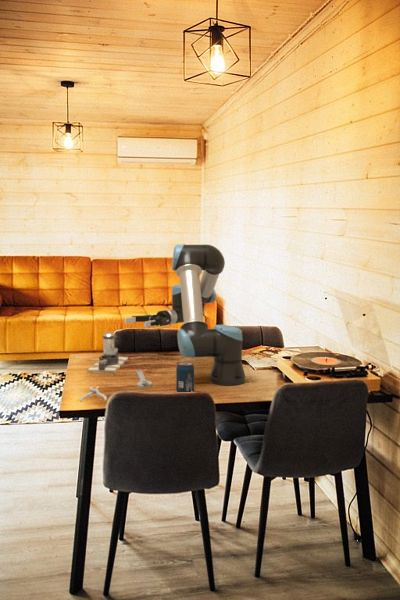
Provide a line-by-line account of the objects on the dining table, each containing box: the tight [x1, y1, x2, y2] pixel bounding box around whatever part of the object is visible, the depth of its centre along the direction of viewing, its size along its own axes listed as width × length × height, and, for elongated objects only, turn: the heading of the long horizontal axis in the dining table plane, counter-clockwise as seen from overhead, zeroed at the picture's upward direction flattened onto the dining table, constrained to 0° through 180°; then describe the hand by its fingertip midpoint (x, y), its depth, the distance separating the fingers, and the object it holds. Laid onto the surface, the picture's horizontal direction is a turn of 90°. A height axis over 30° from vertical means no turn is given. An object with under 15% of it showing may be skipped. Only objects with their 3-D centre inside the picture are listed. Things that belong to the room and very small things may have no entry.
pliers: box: [79, 385, 108, 403], centre depth 222 cm, size 10×2×15 cm
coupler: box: [102, 331, 115, 359], centre depth 264 cm, size 5×5×14 cm
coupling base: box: [86, 347, 130, 375], centre depth 265 cm, size 26×12×5 cm, turn 173°
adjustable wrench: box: [135, 369, 153, 390], centre depth 244 cm, size 25×6×2 cm, turn 8°
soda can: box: [175, 361, 195, 393], centre depth 225 cm, size 7×7×12 cm
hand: (134, 322), depth 272 cm, fingers open, 13 cm apart
